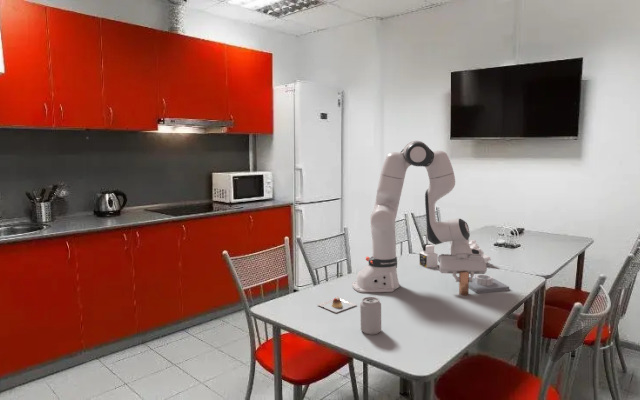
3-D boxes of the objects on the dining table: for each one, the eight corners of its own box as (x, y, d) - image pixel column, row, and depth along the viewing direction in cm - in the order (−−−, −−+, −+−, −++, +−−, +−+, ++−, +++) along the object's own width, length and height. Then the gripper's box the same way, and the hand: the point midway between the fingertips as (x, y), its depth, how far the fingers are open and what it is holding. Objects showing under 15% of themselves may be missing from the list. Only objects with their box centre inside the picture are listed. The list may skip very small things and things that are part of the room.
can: (379, 326, 157) (379, 295, 155) (383, 335, 149) (382, 302, 148) (359, 327, 156) (358, 296, 155) (362, 336, 149) (361, 303, 147)
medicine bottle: (419, 264, 234) (419, 243, 233) (430, 263, 236) (430, 242, 235) (426, 268, 227) (426, 246, 226) (437, 266, 229) (437, 245, 228)
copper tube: (461, 295, 185) (462, 273, 184) (457, 292, 189) (457, 271, 187) (470, 295, 186) (470, 273, 184) (465, 292, 189) (465, 270, 188)
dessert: (317, 307, 179) (316, 296, 178) (338, 299, 186) (337, 289, 186) (336, 315, 169) (335, 303, 169) (357, 307, 177) (357, 296, 176)
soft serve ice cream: (469, 270, 226) (462, 245, 226) (461, 265, 241) (454, 241, 241) (492, 264, 225) (485, 239, 225) (483, 259, 240) (476, 235, 240)
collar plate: (476, 293, 188) (476, 283, 187) (459, 282, 202) (459, 273, 202) (509, 289, 190) (509, 280, 190) (490, 279, 205) (490, 270, 205)
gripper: (438, 250, 193) (440, 277, 185) (485, 251, 190) (489, 278, 182) (437, 257, 198) (439, 284, 190) (482, 258, 195) (486, 285, 187)
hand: (464, 281), depth 186 cm, fingers closed on copper tube, 4 cm apart
